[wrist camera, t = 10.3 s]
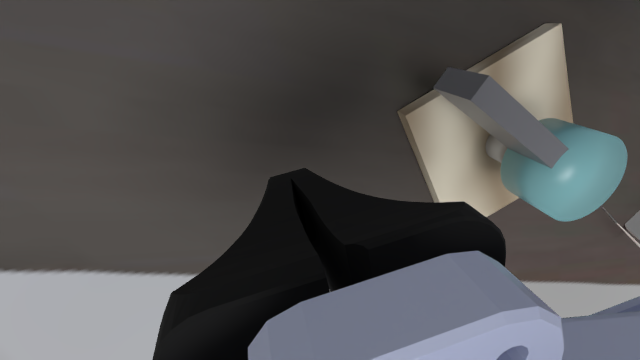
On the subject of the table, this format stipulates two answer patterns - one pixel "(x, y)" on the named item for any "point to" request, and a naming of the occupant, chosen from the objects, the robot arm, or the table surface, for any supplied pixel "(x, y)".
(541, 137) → the teal grey handled piece
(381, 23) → the table surface
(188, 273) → the table surface
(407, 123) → the post block
